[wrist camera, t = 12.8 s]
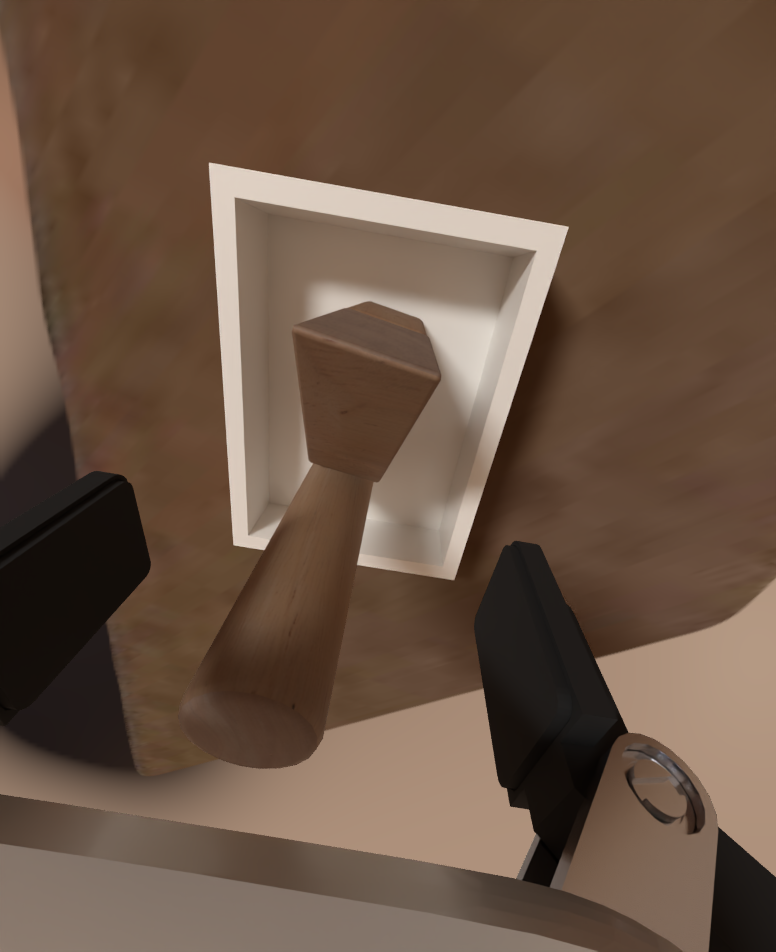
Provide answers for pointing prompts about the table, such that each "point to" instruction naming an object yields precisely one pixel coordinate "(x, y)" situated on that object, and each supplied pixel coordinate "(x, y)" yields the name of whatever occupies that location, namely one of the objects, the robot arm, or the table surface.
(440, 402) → the tray
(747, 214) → the table surface
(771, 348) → the table surface
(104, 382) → the table surface
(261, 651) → the brown rod with wedge
